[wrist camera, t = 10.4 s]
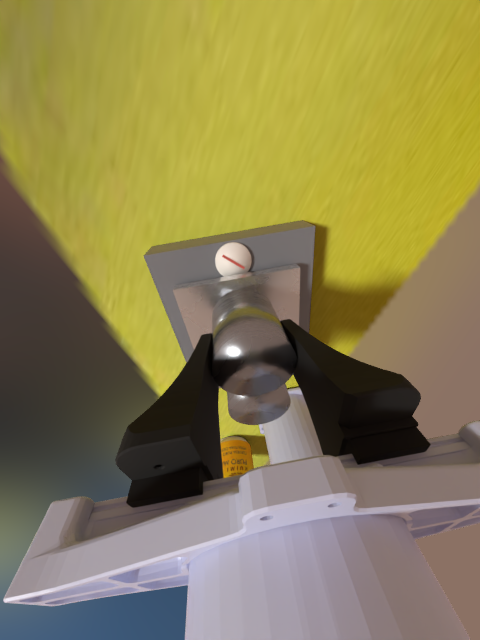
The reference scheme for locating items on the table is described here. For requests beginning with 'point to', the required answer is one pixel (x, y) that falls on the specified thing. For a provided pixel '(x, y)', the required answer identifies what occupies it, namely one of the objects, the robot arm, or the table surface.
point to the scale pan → (204, 294)
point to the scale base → (232, 264)
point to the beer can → (235, 456)
